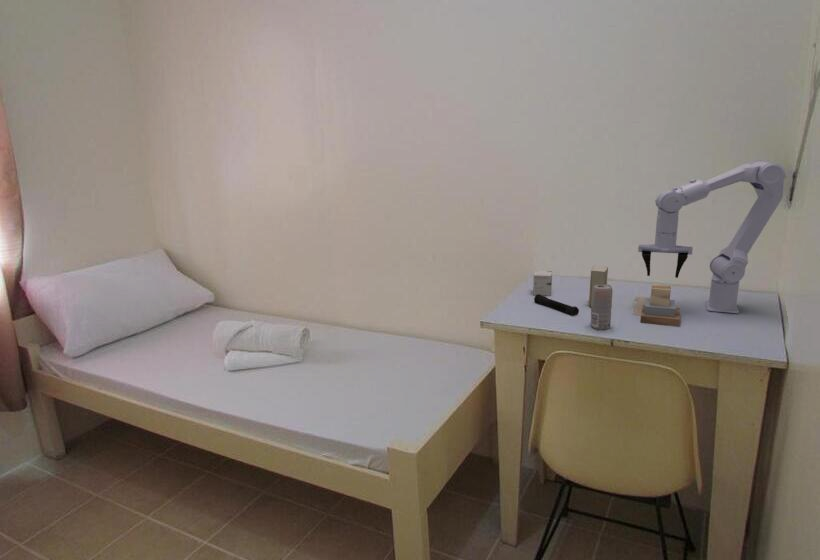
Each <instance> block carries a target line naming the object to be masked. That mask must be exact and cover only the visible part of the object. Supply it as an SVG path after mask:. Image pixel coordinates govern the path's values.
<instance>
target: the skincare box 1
mask: <svg viewBox="0 0 820 560" xmlns="http://www.w3.org/2000/svg"><path fill="white" fill-rule="evenodd" d="M532 283H533V285H532V286H533V287H532V288H533V290H532V293H533V294H532V295H533V296H536V295H537V294H540V295H542V296H545V297H547V296H548V297H551V296H552V285H553V271H551V270H549V271H548V270H535V271H534V273H533V282H532Z"/></svg>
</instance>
